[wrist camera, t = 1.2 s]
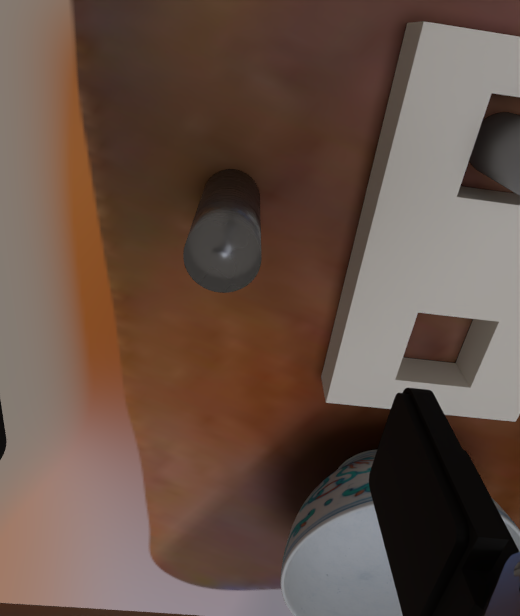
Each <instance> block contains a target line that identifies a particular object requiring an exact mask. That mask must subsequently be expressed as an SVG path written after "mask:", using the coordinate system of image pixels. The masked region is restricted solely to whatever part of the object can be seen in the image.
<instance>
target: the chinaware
mask: <svg viewBox="0 0 520 616" xmlns="http://www.w3.org/2000/svg"><path fill="white" fill-rule="evenodd" d="M376 452H377V449H376V450H370V451H365V452H362V453H359V454H357V455H355V456H353V457H351V458H349V459H348V460H346V461H345V462H344V463H343V464H342V465H341V466H340V467H339V468H338V469H337V470H336V471H335V472H333V473H332V474H331V475H329V476H328V477H327V478H326V479H324V480H323V481H322V482H321V483H320V484H319V485H318V486H317V487H316V488H315V489H314V490H313V491H312V493H311V494H310V495H309V496H308V498H307V499H306V501H305V502H304V504H303V505H302V507H301V509H300V510H299V512H298V514H297V516H296V518H295V521H294V523H293V525H292V528H291V531H290V534H289V537H288V540H287V544H286V548H285V552H284V557H283V563H282V570H281V591H282V595H283V598H284V601H285V603H286V605H287V607H288V608H289V610H290V611H291V612H292V614H293V615H294V616H403V615H402V611H401V607H400V603H399V599H398V595H397V592H396V588H395V584H394V580H393V576H392V573H391V569H390V565H389V561H388V557H387V553H386V550H385V546H384V542H383V538H382V534H381V530H380V527H379V523H378V519H377V515H376V511H375V507H374V504H373V500H372V496H371V492H370V488H369V474H370V470H371V467H372V464H373V461H374V458H375V455H376ZM492 500H493V499H492ZM493 502H494V504H495V506H496V508H497V510H498V512H499V513H500V515H501V517H502V519H503V521H504V523H505V525H506V527H507V529H508V531H509V533H510V534H511V536H512V538H513V540H514V542H515V544H516V546H517V548H518V550H519V552H520V530H519V529H518V527H517V526H516V525H515V523H514V522H513V521H512V520H511V518H510V517H509V516H508V515H507V514H506V512H505V511H504V510H503V509H502V508H501V507H500V506H499V505H498V504H497V503H496V502H495V501H494V500H493Z"/></svg>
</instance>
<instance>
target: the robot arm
mask: <svg viewBox="0 0 520 616" xmlns="http://www.w3.org/2000/svg"><path fill="white" fill-rule="evenodd" d="M5 448H6V434H5V428H4V422H3V414H2V408H1V402H0V459H1V458H2V456H3V454H4V451H5ZM369 488H370V492H371V496H372V500H373V504H374V507H375V511H376V515H377V519H378V523H379V527H380V530H381V534H382V538H383V542H384V546H385V550H386V553H387V557H388V561H389V565H390V569H391V573H392V576H393V580H394V584H395V588H396V592H397V595H398V599H399V603H400V607H401V611H402V615H403V616H520V552H519V550H518V548H517V546H516V544H515V542H514V540H513V538H512V536H511V534H510V533H509V531H508V529H507V527H506V525H505V523H504V521H503V519H502V517H501V515H500V513H499V512H498V510H497V508H496V506H495V504H494V502H493V500H492V498H491V496H490V494H489V493H488V491H487V489H486V487H485V485H484V483H483V481H482V479H481V477H480V475H479V474H478V472H477V470H476V468H475V466H474V464H473V462H472V460H471V458H470V456H469V455H468V454H467V452H466V451H465V450H463V449H462V448H461V446H460V444H459V442H458V440H457V438H456V436H455V434H454V432H453V430H452V428H451V426H450V424H449V422H448V420H447V419H446V417H445V415H444V413H443V411H442V409H441V407H440V405H439V403H438V401H437V399H436V397H435V395H434V393H433V392H432V391H431V390H426V389H417V388H405V390H404V391H403V393H397V394H396V396H395V398H394V401H393V404H392V407H391V410H390V413H389V416H388V419H387V422H386V425H385V428H384V431H383V434H382V437H381V440H380V443H379V446H378V449H377V452H376V455H375V458H374V461H373V464H372V467H371V470H370V474H369ZM0 616H197V615H182V614H167V613H152V612H137V611H121V610H106V609H91V608H90V609H89V608H75V607H57V606H41V605H25V604H8V603H0Z"/></svg>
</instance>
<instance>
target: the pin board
mask: <svg viewBox="0 0 520 616" xmlns="http://www.w3.org/2000/svg"><path fill="white" fill-rule="evenodd" d="M492 93H494V94H501V95H507V96H514V97H520V37H518V36H512V35H506V34H500V33H493V32H487V31H481V30H475V29H468V28H462V27H456V26H450V25H443V24H437V23H431V22H424V21H423V22H412V23H407V26H406V30H405V34H404V38H403V42H402V46H401V50H400V55H399V59H398V63H397V67H396V71H395V75H394V79H393V83H392V88H391V92H390V96H389V100H388V104H387V108H386V112H385V116H384V120H383V125H382V129H381V133H380V137H379V141H378V145H377V149H376V153H375V158H374V162H373V166H372V170H371V174H370V178H369V182H368V186H367V190H366V195H365V199H364V203H363V207H362V211H361V215H360V219H359V223H358V228H357V232H356V236H355V240H354V244H353V248H352V252H351V256H350V260H349V265H348V269H347V273H346V277H345V281H344V285H343V289H342V293H341V298H340V302H339V306H338V310H337V314H336V318H335V322H334V326H333V330H332V335H331V339H330V343H329V347H328V351H327V355H326V359H325V363H324V368H323V372H322V376H321V379H322V384H323V390H324V395H325V400H326V403H335V404H345V405H355V406H365V407H375V408H385V409H391V407H392V404H393V401H394V398H395V396H396V394H397V393H403V391H404V390H405V388H417V389H426V390H431V391H432V392H433V393H434V395H435V397H436V399H437V401H438V403H439V405H440V407H441V409H442V411H443V413H444V415H454V416H464V417H474V418H484V419H494V420H504V421H514V422H516V420H517V418H518V416H519V414H520V115H517V114H514V113H509V112H501V113H496V114H493V115H491V116H489V117H487V118H486V119H484V120H483V117H484V114H485V111H486V108H487V106H488V103H489V100H490V97H491V94H492ZM482 120H483V121H482ZM469 161H470V163H471V164H472V166H473V167H474V168H475V169H476V170H478V171H480V172H481V173H483V174H485V175H486V176H488V177H490V178H491V179H493V180H494V181H496V182H498V183H499V184H501V185H503V186H504V187H506V188H508V189H509V190H511V191H513V192H514V193H508V192H500V191H493V190H485V189H478V188H471V187H463V186H461V183H462V180H463V177H464V174H465V171H466V168H467V165H468V162H469ZM515 193H516V194H515ZM418 312H419V313H428V314H436V315H445V316H454V317H462V318H471V319H473V321H472V323H471V326H470V328H469V331H468V333H467V336H466V338H465V341H464V343H463V346H462V348H461V350H460V353H459V355H458V358H457V360H456V363H450V362H441V361H431V360H422V359H413V358H404V357H403V355H404V352H405V349H406V346H407V343H408V340H409V338H410V335H411V332H412V329H413V326H414V323H415V320H416V317H417V314H418Z"/></svg>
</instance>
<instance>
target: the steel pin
mask: <svg viewBox="0 0 520 616" xmlns="http://www.w3.org/2000/svg"><path fill="white" fill-rule="evenodd" d="M183 254H184V264H185V267H186V269H187V271H188V273H189V275H190V276H191V277H192V279H193V280H194V281H195V282H196V283H198V284H199V285H200V286H202V287H204V288H206V289H208V290H211V291H214V292H223V293H225V292H233V291H236V290H239V289H241V288H243V287H245V286H247V285H248V284H249V283H250V282H251V281H252V280H253V279H254V278H255V276H256V275H257V273H258V271H259V268H260V265H261V225H260V194H259V190H258V187H257V185H256V183H255V181H254V180H253V179H252V178H251V177H250V176H249V175H247V174H246V173H244V172H242V171H239V170H235V169H227V170H222V171H219V172H218V173H216V174H214V175H213V176H212V177H211V178H210V179H209V180H208V182H207V183H206V185H205V188H204V191H203V194H202V197H201V200H200V203H199V205H198V208H197V211H196V214H195V217H194V220H193V223H192V226H191V229H190V232H189V235H188V238H187V241H186V244H185V247H184V253H183Z"/></svg>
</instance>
